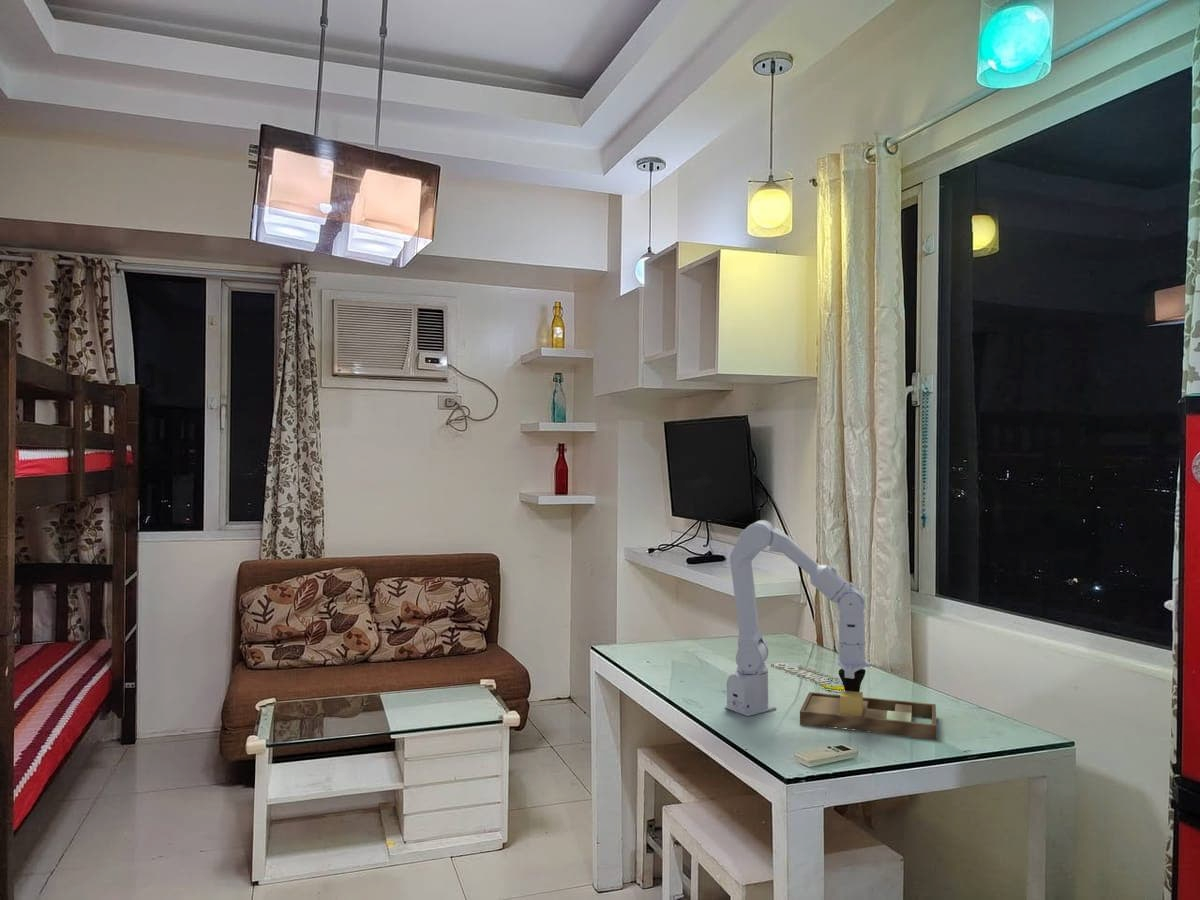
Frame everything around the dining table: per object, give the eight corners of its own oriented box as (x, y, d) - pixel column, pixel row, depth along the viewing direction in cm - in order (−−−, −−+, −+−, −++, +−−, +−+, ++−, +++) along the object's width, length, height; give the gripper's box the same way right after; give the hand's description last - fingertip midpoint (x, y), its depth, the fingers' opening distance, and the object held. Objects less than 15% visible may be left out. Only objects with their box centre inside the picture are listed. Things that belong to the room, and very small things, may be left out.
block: (840, 714, 181) (839, 695, 181) (842, 708, 185) (841, 690, 185) (861, 716, 179) (861, 698, 179) (862, 710, 184) (862, 692, 184)
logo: (867, 686, 208) (836, 691, 204) (867, 690, 208) (836, 695, 204) (794, 660, 235) (766, 664, 231) (794, 664, 235) (766, 668, 231)
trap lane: (799, 724, 182) (799, 711, 182) (809, 704, 196) (809, 691, 196) (936, 739, 171) (936, 725, 171) (935, 717, 186) (935, 704, 186)
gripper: (868, 650, 178) (868, 713, 178) (872, 636, 191) (872, 695, 191) (834, 648, 180) (835, 710, 180) (840, 634, 194) (841, 692, 194)
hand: (852, 702), depth 186 cm, fingers closed
